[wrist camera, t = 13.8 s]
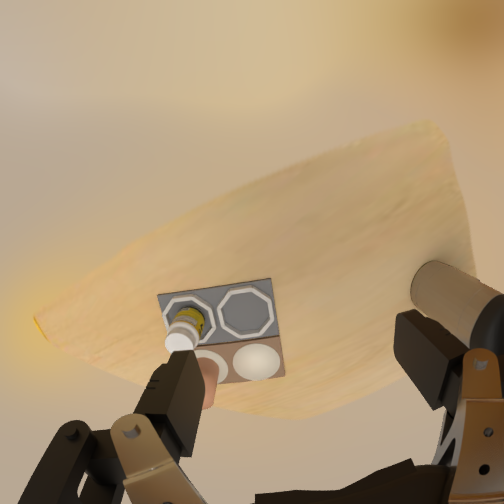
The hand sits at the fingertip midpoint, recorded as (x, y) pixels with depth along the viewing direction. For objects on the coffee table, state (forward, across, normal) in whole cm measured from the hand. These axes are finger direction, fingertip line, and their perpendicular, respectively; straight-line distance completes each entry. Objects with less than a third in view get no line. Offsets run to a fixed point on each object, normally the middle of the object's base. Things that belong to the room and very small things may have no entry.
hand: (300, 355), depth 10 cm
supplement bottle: (+30, +14, +12) cm, 35 cm away
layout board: (+30, +10, +16) cm, 36 cm away
